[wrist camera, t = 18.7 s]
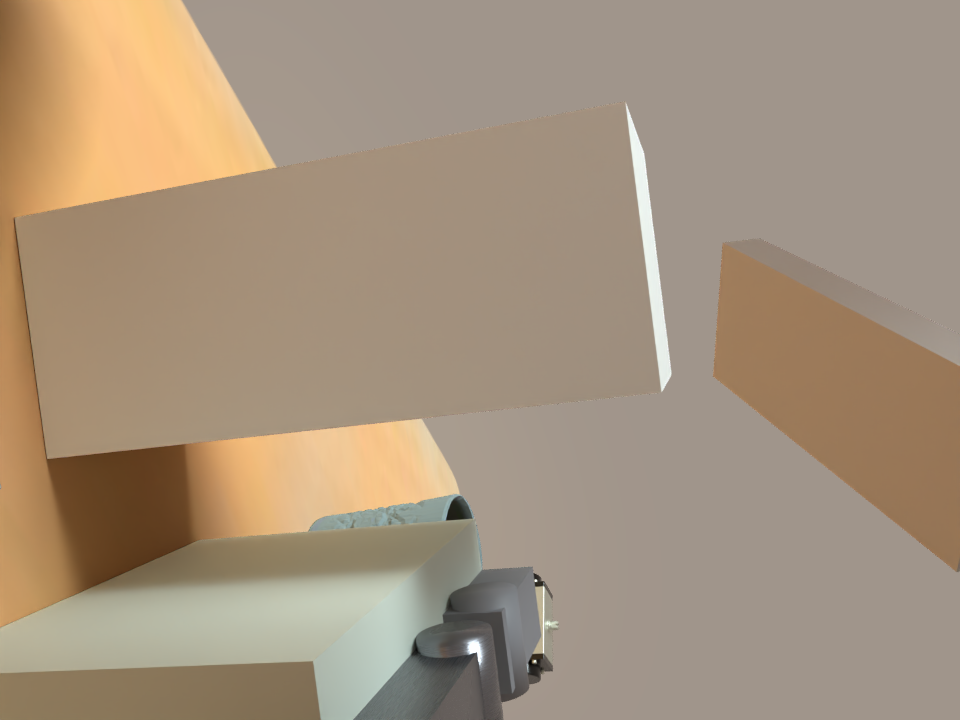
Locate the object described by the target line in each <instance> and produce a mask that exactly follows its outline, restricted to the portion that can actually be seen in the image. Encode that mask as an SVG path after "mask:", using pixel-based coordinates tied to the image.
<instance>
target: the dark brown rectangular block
mask: <svg viewBox="0 0 960 720" xmlns="http://www.w3.org/2000/svg"><path fill="white" fill-rule="evenodd" d="M416 645H417V648H416V649H415V650H414V652H413V653H412V654H411V655H410V656H409V657H408V658H407V659H406V661H405V662H404V663H403V664H402V665H401V666H400V667H399V668H398V670H397V671H396V672H395V673H394V674H393V675H392V676H391V678H390V679H389V680H388V681H387V682H386V683H385V684H384V685H383V687H382V688H381V689H380V690H379V691H378V692H377V693H376V694H375V696H374V697H373V698H372V699H371V700H370V701H369V702H368V704H367V705H366V706H365V707H364V708H363V709H362V710H361V711H360V713H359V714H358V715H357V716H356V717H355V718H354V719H353V720H503V711H502V703H501V695H500V687H499V679H498V671H497V663H496V655H495V647H494V640H493V632H492V627H491V625H490V624H488V623H486V622H482V621H476V620H461V621H452V622H446V623H442V624H438V625H435V626H432V627H429V628H427V629H425V630H423V631H421V632H420V633H419V634H417V636H416Z"/></svg>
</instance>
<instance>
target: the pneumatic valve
mask: <svg viewBox="0 0 960 720" xmlns="http://www.w3.org/2000/svg"><path fill="white" fill-rule="evenodd" d="M533 574H534V573H533ZM534 582H535V590H536V598H537V605H538V613H539V621H540V629H541V638H540V640H539V642H538V644H537V646H536V648H535V650H534V652H533V654H532V656H531V658H530V660H529V662H528V664H527V672H528V680H529V684H534V683H537V682H539V681H540V680H541V674H544V671H553V665H552V664H553V663H552V662H553V655H552V653H553V652H552V651H553V648H552V646H553V645H552V644H553V635H552V634H553V633H552V632H553V630H558V629H559V627H558V625H559V623H558V621H552V620H553V619H552V618H553V614H552V610H553V609H552V608H553V606H552V603H553V602H552V594H551V592H550V590H549V589H548V587H547V585H546V584H545V582H544V581H541V577H540V576H539V575H537V574H534Z"/></svg>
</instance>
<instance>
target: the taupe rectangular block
mask: <svg viewBox="0 0 960 720" xmlns="http://www.w3.org/2000/svg"><path fill="white" fill-rule="evenodd" d="M15 226H16V233H17V240H18V248H19V255H20V263H21V270H22V277H23V285H24V292H25V300H26V307H27V314H28V322H29V329H30V337H31V344H32V351H33V359H34V366H35V374H36V381H37V388H38V396H39V403H40V411H41V418H42V426H43V433H44V440H45V448H46V455H47V459H53V458H62V457H71V456H80V455H89V454H99V453H108V452H117V451H126V450H135V449H145V448H154V447H163V446H172V445H181V444H191V443H200V442H209V441H218V440H228V439H237V438H246V437H255V436H264V435H274V434H283V433H292V432H301V431H310V430H320V429H329V428H338V427H347V426H357V425H366V424H375V423H384V422H393V421H403V420H412V419H421V418H430V417H439V416H448V415H458V414H467V413H476V412H484V411H485V412H486V411H494V410H503V409H513V408H522V407H531V406H541V405H549V404H559V403H568V402H578V401H587V400H596V399H605V398H614V397H624V396H633V395H642V394H651V393H661V392H662V391H663V389H664V387H665V385H666V384H667V382H668V380H669V378H670V376H671V366H670V358H669V350H668V342H667V334H666V326H665V318H664V310H663V301H662V293H661V285H660V277H659V270H658V261H657V253H656V246H655V237H654V229H653V222H652V213H651V205H650V197H649V189H648V181H647V173H646V165H645V157H644V152H643V149H642V146H641V144H640V141H639V138H638V135H637V133H636V130H635V127H634V124H633V121H632V119H631V116H630V113H629V111H628V107H627V105H626V102H620V103H614V104H609V105H604V106H599V107H593V108H589V109H583V110H578V111H573V112H567V113H562V114H557V115H551V116H546V117H541V118H536V119H530V120H525V121H520V122H515V123H509V124H504V125H499V126H494V127H489V128H483V129H478V130H473V131H468V132H462V133H457V134H452V135H446V136H441V137H436V138H430V139H425V140H420V141H415V142H410V143H405V144H399V145H394V146H388V147H383V148H378V149H373V150H367V151H362V152H357V153H352V154H347V155H341V156H336V157H331V158H326V159H320V160H315V161H310V162H304V163H299V164H294V165H288V166H283V167H278V168H273V169H267V170H262V171H257V172H252V173H246V174H241V175H236V176H231V177H225V178H220V179H215V180H210V181H204V182H199V183H194V184H189V185H183V186H178V187H173V188H168V189H162V190H157V191H152V192H147V193H141V194H136V195H131V196H125V197H120V198H115V199H110V200H104V201H99V202H94V203H89V204H83V205H78V206H73V207H68V208H62V209H57V210H52V211H47V212H41V213H36V214H31V215H26V216H20V217H15Z"/></svg>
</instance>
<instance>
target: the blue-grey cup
mask: <svg viewBox="0 0 960 720" xmlns="http://www.w3.org/2000/svg"><path fill="white" fill-rule="evenodd" d="M463 519H474V516H473V512H472V510H471V508H470V505H469V504H468V502H467V501H466V500H465V499H464V497H463V496H461V495H457V494H454V495H449V496H444V497H439V498H434V499H429V500H423V501H420V502H418V503H417V504H413V503H409V504H401V505H393V506H389V507H388V508H383V507H380V508H378V509H375V510H371V509H369V510H365V511H358V512H353V513H348V514H339V515H332V516H326V517H323V518H321V519H318V520H317V521H315V522H314V524H313V525H312V526H311V527H310V529H309V531H321V530H334V529H347V528H360V527H373V526H386V525H398V524H411V523H424V522H437V521H450V520H463ZM476 528H477V525H476ZM309 531H308V532H309ZM477 536H478V544H479V552H480V560H481V567H482V554H481V545H480V539H479V534H478V529H477Z"/></svg>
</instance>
